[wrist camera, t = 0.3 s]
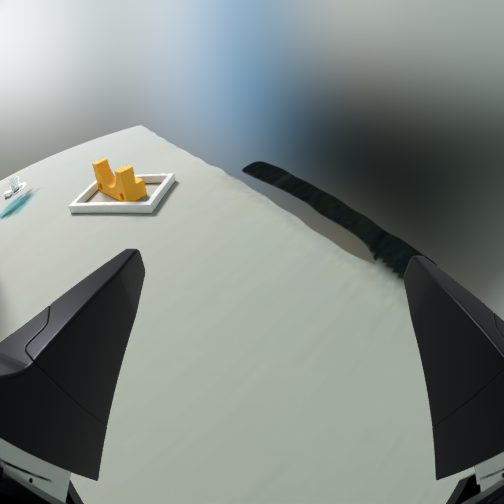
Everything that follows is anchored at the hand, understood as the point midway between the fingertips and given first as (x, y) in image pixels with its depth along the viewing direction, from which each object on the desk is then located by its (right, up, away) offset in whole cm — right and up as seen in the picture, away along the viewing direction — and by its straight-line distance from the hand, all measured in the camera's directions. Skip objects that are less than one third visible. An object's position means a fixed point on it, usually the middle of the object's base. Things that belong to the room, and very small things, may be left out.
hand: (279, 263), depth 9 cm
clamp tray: (-25, +11, +39) cm, 48 cm away
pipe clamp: (-26, +12, +41) cm, 50 cm away
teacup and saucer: (-72, +17, +48) cm, 88 cm away
